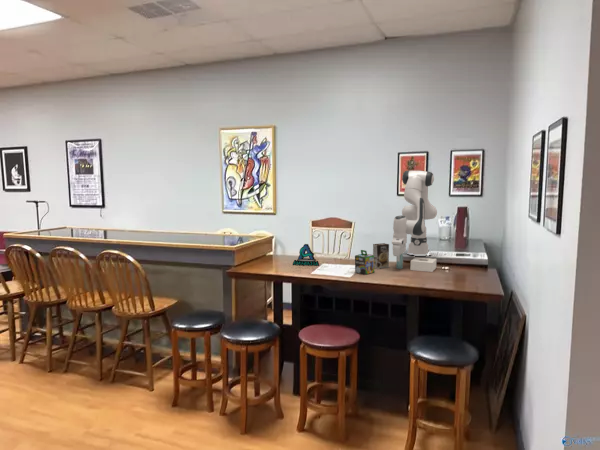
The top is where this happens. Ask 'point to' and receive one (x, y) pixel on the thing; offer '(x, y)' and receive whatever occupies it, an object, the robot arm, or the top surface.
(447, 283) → the top surface
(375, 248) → the coffee box
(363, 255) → the chalk box
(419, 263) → the hole block
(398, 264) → the pin
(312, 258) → the decorative sign
